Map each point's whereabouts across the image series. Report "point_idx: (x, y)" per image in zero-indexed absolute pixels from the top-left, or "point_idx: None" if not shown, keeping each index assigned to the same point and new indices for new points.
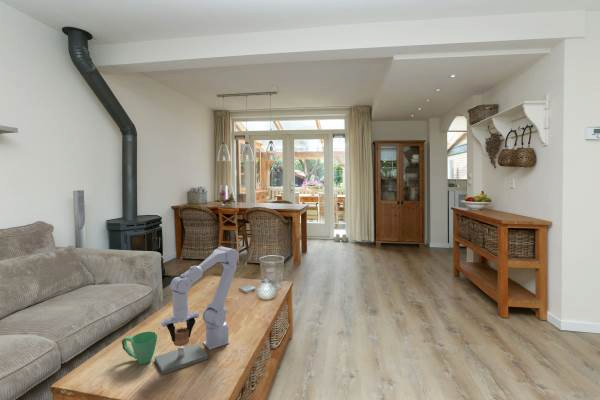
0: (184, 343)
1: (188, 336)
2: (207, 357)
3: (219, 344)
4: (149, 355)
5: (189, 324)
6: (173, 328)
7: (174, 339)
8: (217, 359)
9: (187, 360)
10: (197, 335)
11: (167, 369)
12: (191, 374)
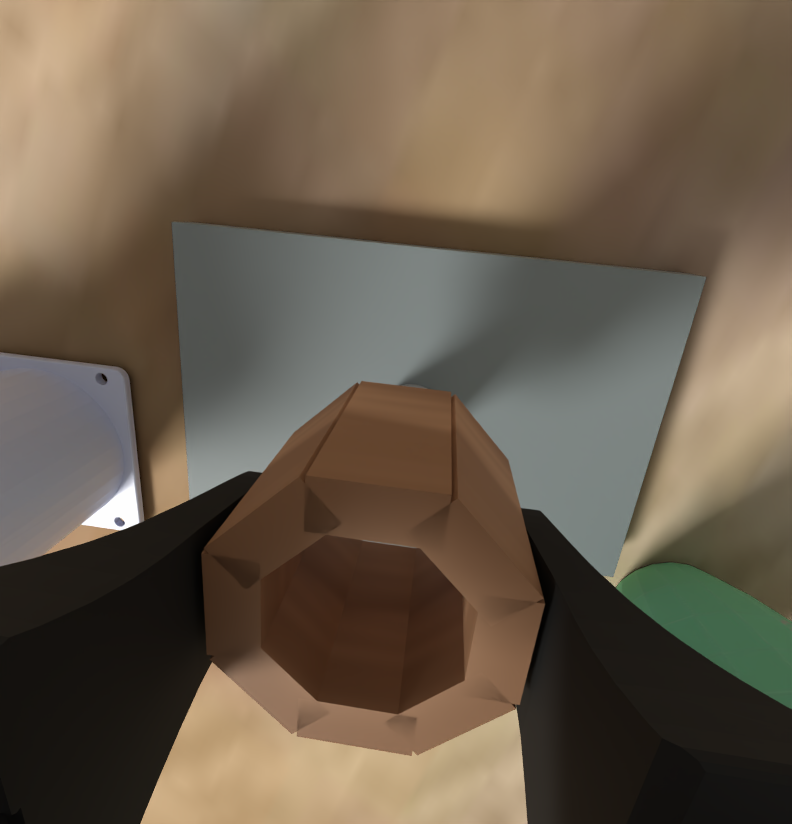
0: (385, 392)
1: (272, 465)
2: (189, 222)
3: (7, 370)
4: (699, 594)
5: (85, 644)
6: (726, 733)
7: (534, 522)
8: (108, 130)
9: (398, 284)
10: None
11: (646, 271)
12: (459, 30)
